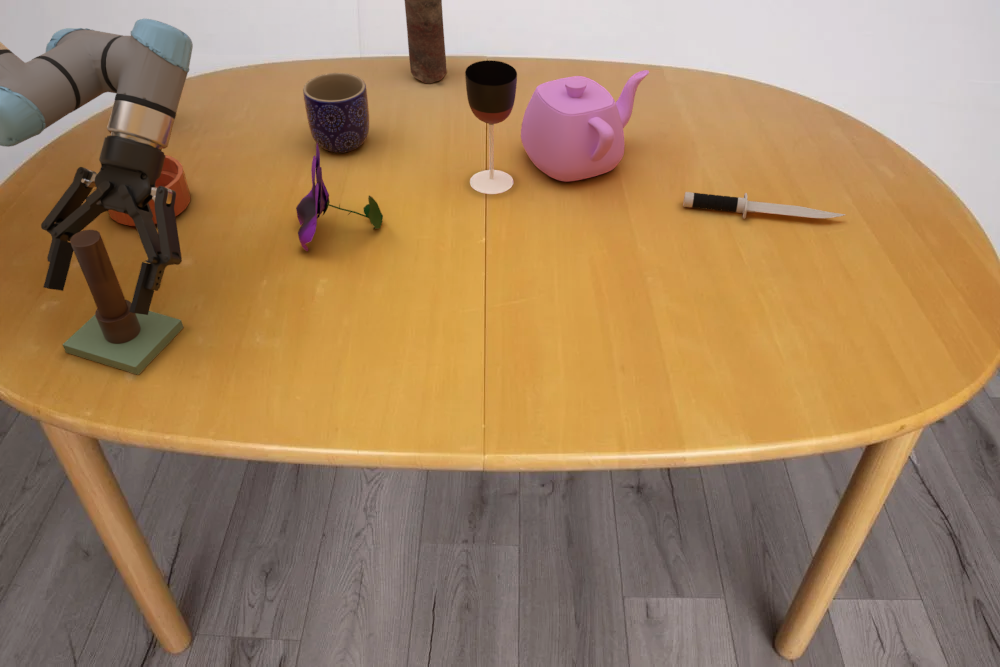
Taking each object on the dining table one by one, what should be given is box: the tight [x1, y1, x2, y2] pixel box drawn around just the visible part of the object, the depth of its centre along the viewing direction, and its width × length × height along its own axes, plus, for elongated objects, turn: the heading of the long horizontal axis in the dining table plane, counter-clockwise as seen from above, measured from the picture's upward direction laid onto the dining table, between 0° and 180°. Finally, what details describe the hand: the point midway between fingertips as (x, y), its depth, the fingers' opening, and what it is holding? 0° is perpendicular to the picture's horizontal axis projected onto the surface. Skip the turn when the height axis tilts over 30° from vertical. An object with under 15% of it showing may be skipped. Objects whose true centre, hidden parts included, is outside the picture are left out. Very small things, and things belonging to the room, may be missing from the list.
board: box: [61, 310, 185, 376], centre depth 120 cm, size 12×10×2 cm
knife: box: [682, 191, 846, 220], centre depth 142 cm, size 26×2×5 cm
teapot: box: [520, 69, 650, 182], centre depth 150 cm, size 23×21×15 cm
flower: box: [295, 143, 384, 252], centre depth 136 cm, size 15×15×14 cm
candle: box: [403, 0, 448, 84], centre depth 172 cm, size 8×7×20 cm
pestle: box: [69, 229, 141, 344], centre depth 114 cm, size 5×5×16 cm
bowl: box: [107, 154, 191, 227], centre depth 142 cm, size 13×13×6 cm
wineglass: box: [464, 59, 518, 195], centre depth 143 cm, size 8×9×20 cm
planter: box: [302, 72, 370, 154], centre depth 155 cm, size 11×11×11 cm
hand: (95, 301), depth 113 cm, fingers open, 13 cm apart
